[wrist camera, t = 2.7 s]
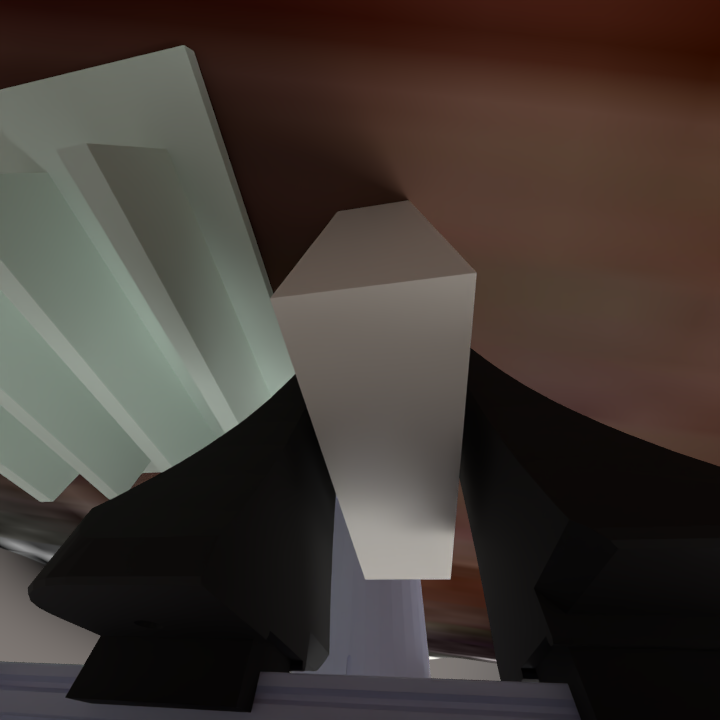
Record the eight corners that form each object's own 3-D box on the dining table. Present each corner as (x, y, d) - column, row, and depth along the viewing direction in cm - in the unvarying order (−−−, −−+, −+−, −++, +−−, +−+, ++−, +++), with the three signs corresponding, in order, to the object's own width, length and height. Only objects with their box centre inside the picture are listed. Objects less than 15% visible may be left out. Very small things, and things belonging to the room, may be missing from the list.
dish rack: (327, 456, 18) (317, 512, 15) (90, 469, 20) (42, 521, 17) (194, 50, 8) (91, -14, 5) (-253, 158, 10) (-508, 155, 7)
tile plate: (416, 395, 15) (450, 579, 8) (369, 399, 15) (364, 579, 9) (408, 200, 10) (476, 273, 3) (337, 211, 10) (269, 298, 4)
